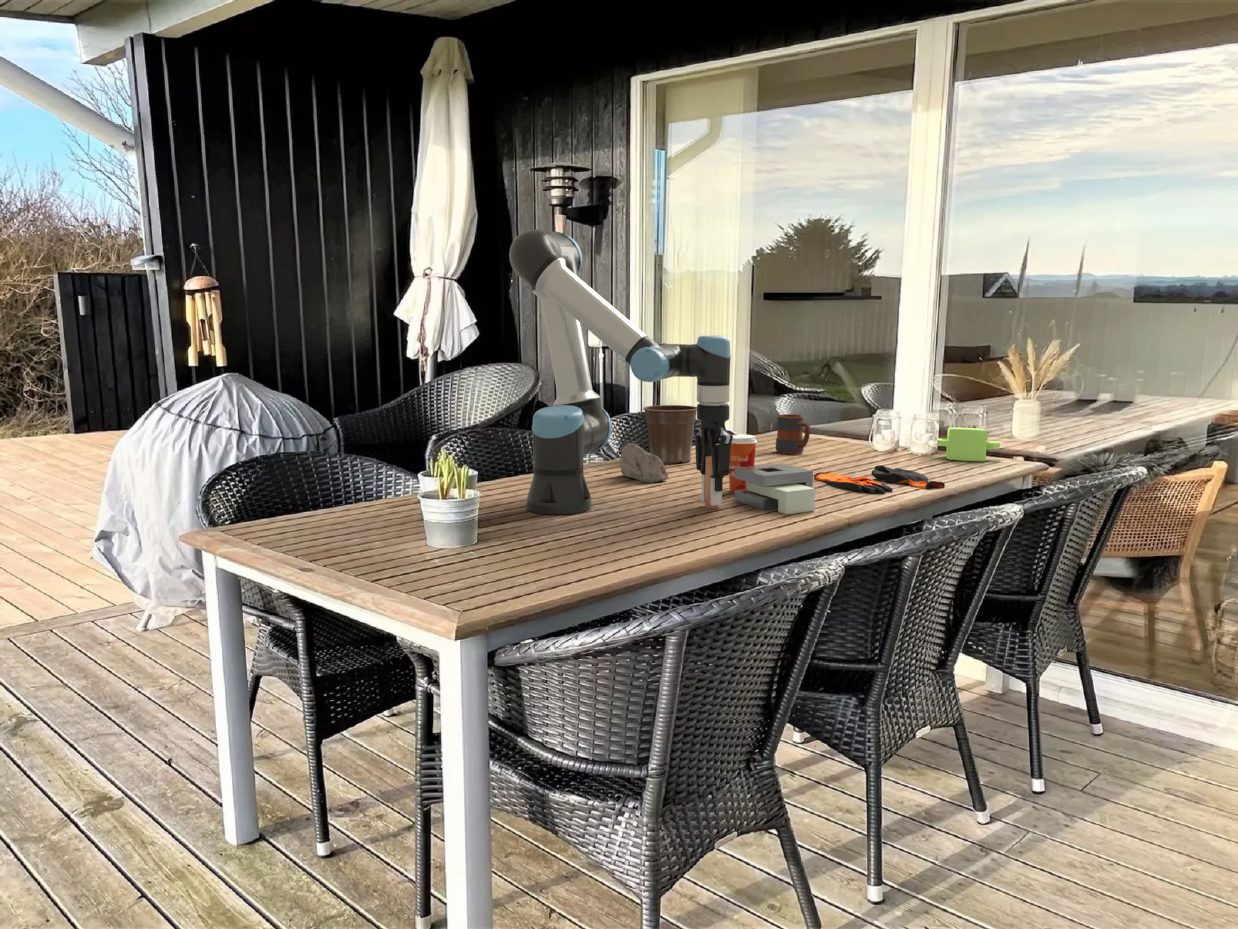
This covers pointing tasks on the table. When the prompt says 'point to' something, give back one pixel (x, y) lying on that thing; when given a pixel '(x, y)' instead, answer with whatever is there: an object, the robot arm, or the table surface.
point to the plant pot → (670, 431)
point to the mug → (791, 434)
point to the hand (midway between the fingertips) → (711, 502)
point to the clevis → (769, 482)
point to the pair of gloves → (880, 474)
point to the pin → (708, 483)
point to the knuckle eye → (788, 496)
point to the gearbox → (967, 444)
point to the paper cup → (741, 458)
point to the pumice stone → (641, 464)
